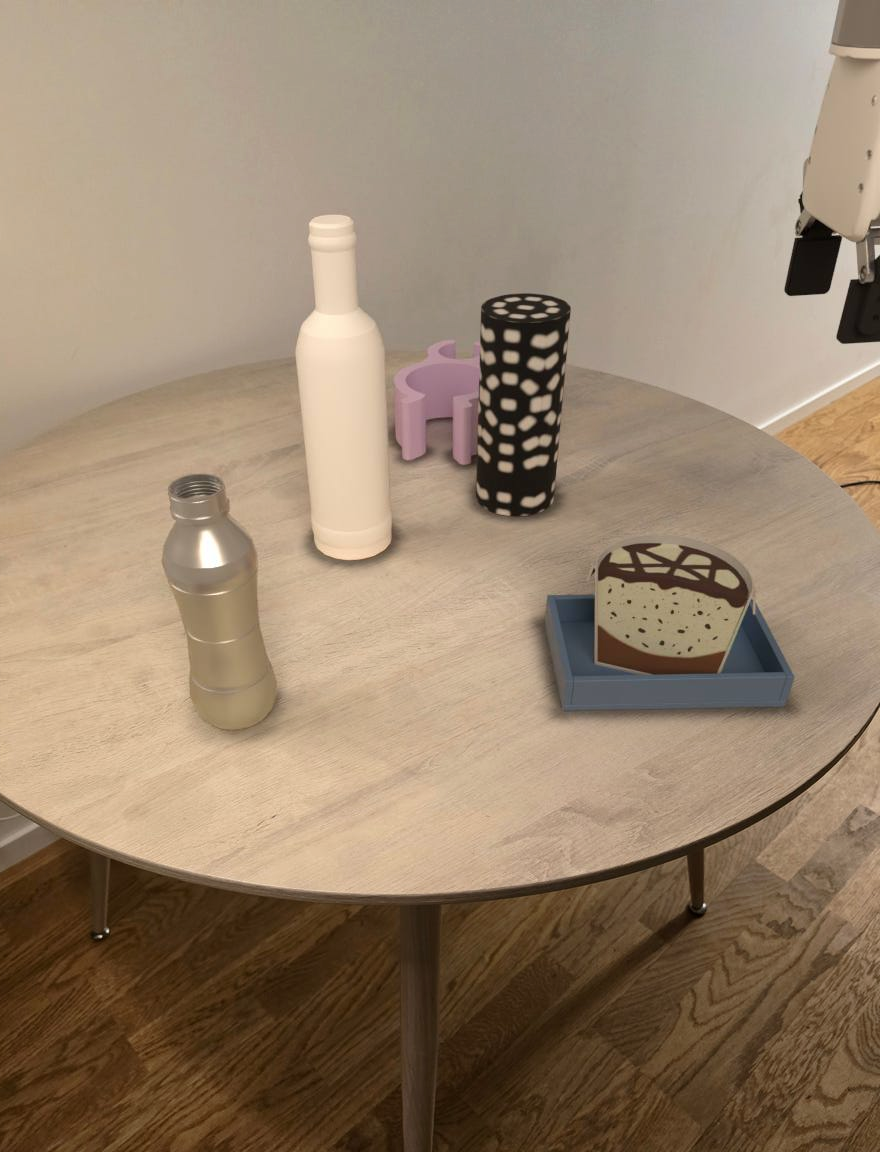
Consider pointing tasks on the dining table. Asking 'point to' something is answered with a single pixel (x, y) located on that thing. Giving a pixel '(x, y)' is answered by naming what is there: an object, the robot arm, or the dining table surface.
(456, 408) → the clip
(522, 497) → the white-spotted black cylinder
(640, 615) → the food container
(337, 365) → the bottle
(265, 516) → the dining table surface
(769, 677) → the tray
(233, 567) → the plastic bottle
